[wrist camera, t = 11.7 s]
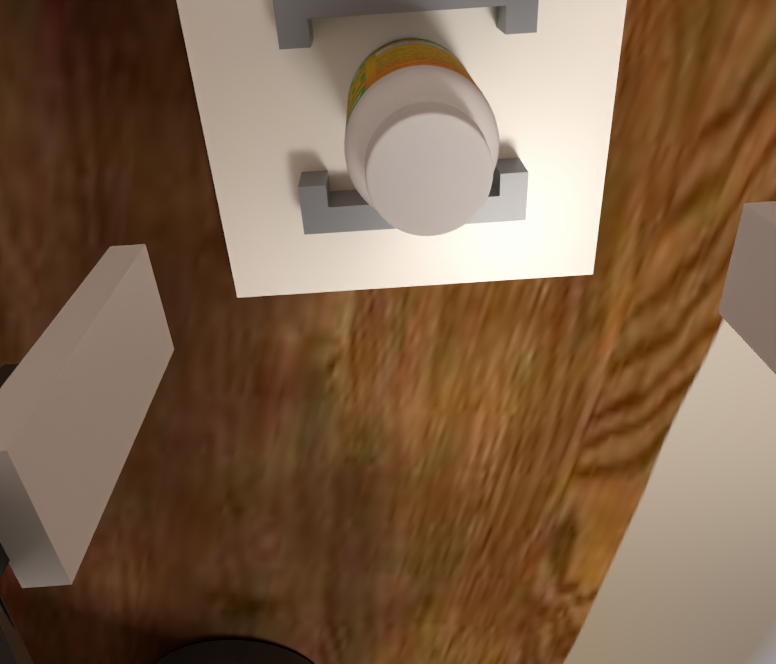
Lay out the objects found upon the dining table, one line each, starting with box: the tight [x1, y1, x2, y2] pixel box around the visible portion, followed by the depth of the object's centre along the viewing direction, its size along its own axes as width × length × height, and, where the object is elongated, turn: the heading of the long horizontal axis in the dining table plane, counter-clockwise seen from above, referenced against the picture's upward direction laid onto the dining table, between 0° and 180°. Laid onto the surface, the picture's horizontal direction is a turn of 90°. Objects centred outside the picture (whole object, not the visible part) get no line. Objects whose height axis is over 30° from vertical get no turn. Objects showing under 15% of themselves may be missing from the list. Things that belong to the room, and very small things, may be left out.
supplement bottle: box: [344, 37, 499, 236], centre depth 24 cm, size 5×5×10 cm
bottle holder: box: [176, 0, 627, 298], centre depth 28 cm, size 18×18×4 cm
